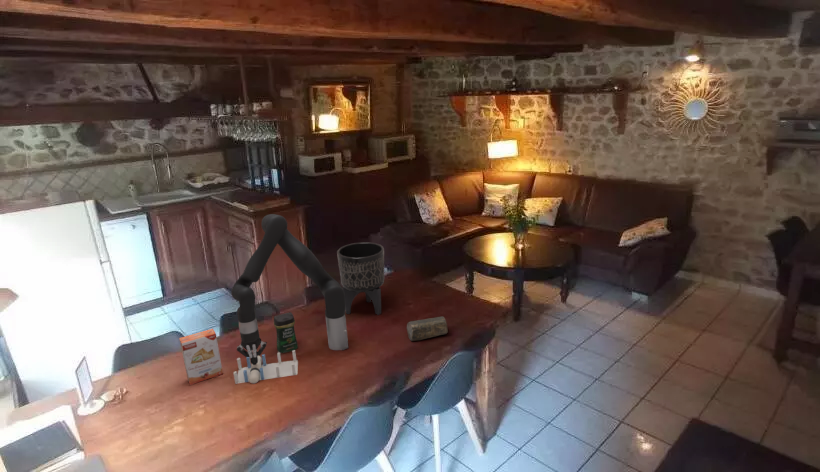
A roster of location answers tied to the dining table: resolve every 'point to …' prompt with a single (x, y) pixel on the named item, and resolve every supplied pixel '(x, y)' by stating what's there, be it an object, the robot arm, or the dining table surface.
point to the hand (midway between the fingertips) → (254, 363)
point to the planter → (362, 272)
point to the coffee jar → (285, 332)
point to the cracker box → (201, 356)
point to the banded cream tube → (255, 371)
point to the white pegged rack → (267, 369)
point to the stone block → (426, 328)
